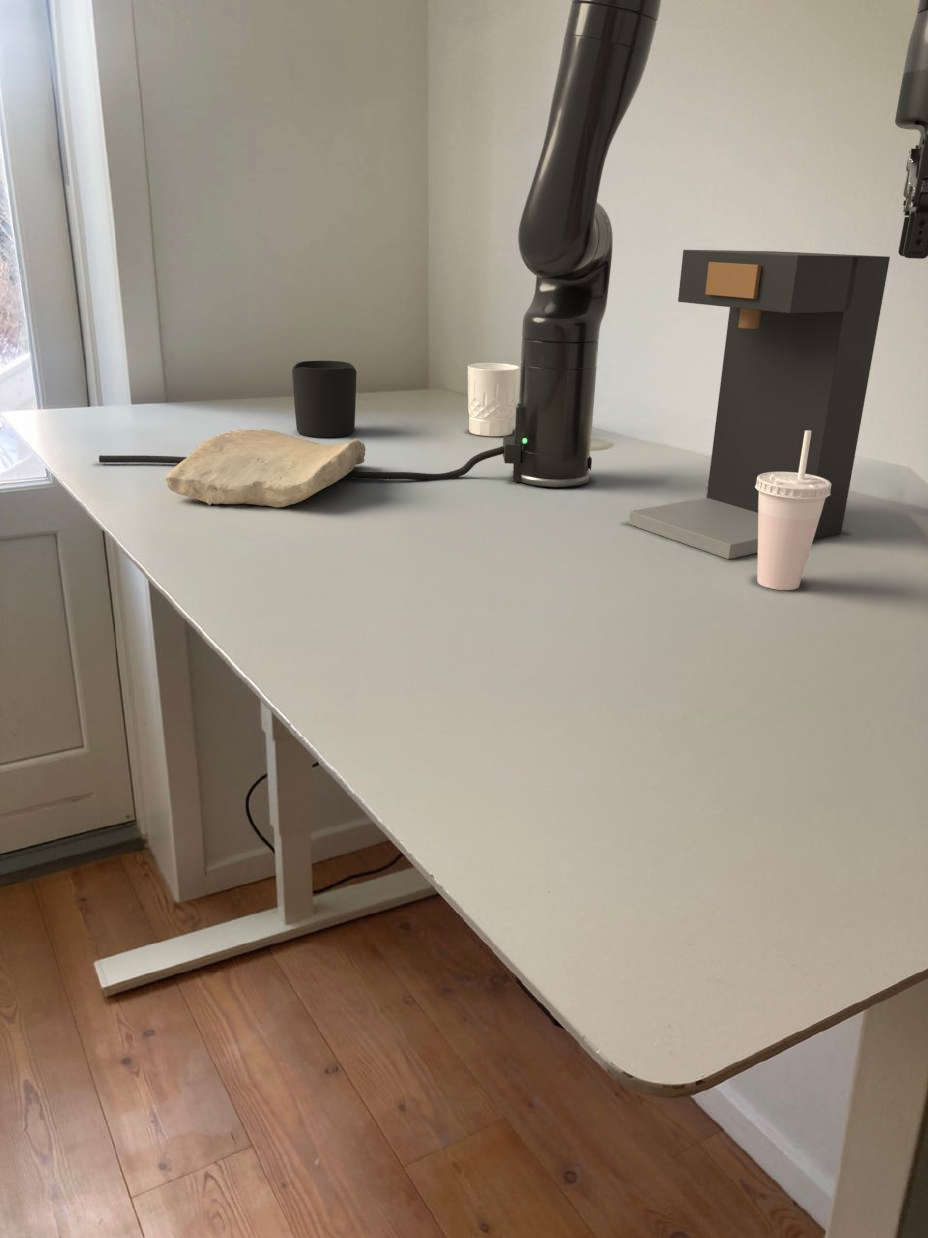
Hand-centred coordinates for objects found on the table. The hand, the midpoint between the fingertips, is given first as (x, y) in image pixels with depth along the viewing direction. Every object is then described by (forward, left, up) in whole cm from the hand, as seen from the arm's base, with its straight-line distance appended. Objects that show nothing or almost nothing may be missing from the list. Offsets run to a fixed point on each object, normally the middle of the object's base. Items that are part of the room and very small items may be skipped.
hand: (911, 257), depth 97 cm
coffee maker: (-14, -3, -28) cm, 31 cm away
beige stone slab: (-66, +2, -28) cm, 72 cm away
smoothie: (-11, -20, -28) cm, 36 cm away
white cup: (-47, +42, -28) cm, 69 cm away
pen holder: (-71, +34, -28) cm, 84 cm away
